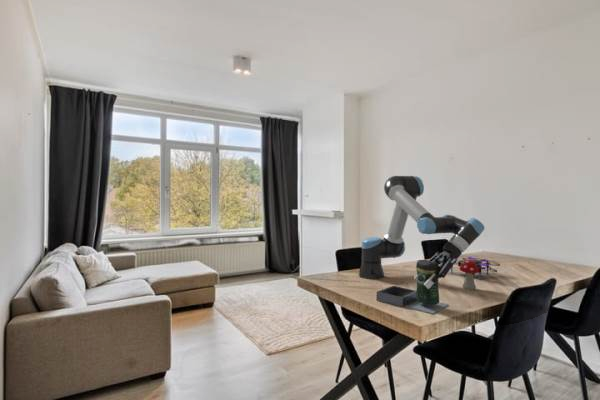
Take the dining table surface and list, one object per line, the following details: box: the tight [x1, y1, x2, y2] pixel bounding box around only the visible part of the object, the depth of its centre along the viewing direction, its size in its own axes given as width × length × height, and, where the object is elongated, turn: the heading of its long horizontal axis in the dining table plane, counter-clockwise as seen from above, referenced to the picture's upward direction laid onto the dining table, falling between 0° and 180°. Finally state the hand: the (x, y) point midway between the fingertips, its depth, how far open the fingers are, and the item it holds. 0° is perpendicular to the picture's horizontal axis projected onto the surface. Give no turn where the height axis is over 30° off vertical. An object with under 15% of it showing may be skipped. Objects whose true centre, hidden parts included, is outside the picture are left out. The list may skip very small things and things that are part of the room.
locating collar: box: [376, 285, 417, 308], centre depth 156 cm, size 13×15×4 cm
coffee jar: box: [415, 259, 440, 305], centre depth 146 cm, size 10×8×19 cm
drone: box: [450, 256, 501, 281], centre depth 205 cm, size 40×10×28 cm
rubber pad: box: [405, 301, 450, 315], centre depth 146 cm, size 12×16×1 cm
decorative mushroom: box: [459, 260, 479, 291], centre depth 174 cm, size 10×9×15 cm
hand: (420, 283), depth 146 cm, fingers closed on coffee jar, 9 cm apart
